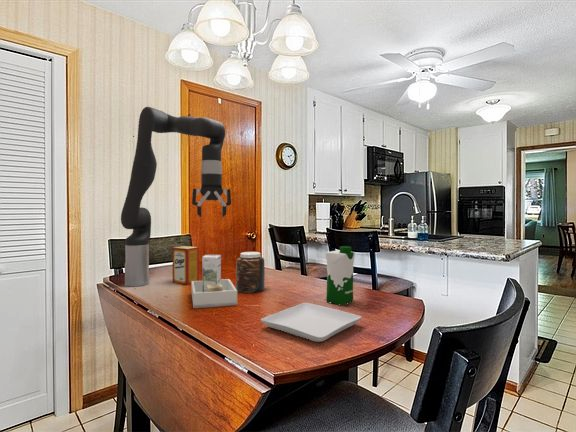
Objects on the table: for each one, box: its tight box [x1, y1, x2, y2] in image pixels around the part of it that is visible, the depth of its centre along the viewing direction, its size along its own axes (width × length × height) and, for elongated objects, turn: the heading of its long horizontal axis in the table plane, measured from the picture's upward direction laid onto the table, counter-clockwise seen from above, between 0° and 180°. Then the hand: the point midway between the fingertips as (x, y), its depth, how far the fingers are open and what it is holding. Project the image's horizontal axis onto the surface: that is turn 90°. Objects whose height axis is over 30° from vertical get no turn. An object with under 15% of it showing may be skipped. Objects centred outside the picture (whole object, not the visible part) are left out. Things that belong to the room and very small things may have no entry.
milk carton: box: [325, 245, 356, 306], centre depth 124 cm, size 9×9×20 cm
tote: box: [190, 278, 238, 309], centre depth 127 cm, size 15×20×5 cm
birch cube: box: [207, 284, 223, 292], centre depth 122 cm, size 5×5×5 cm
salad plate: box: [260, 302, 362, 343], centre depth 98 cm, size 21×21×3 cm
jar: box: [235, 251, 266, 294], centre depth 141 cm, size 12×12×15 cm
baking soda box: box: [172, 245, 200, 286], centre depth 154 cm, size 10×6×16 cm
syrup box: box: [201, 254, 222, 292], centre depth 131 cm, size 6×6×14 cm
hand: (211, 216), depth 130 cm, fingers open, 8 cm apart
